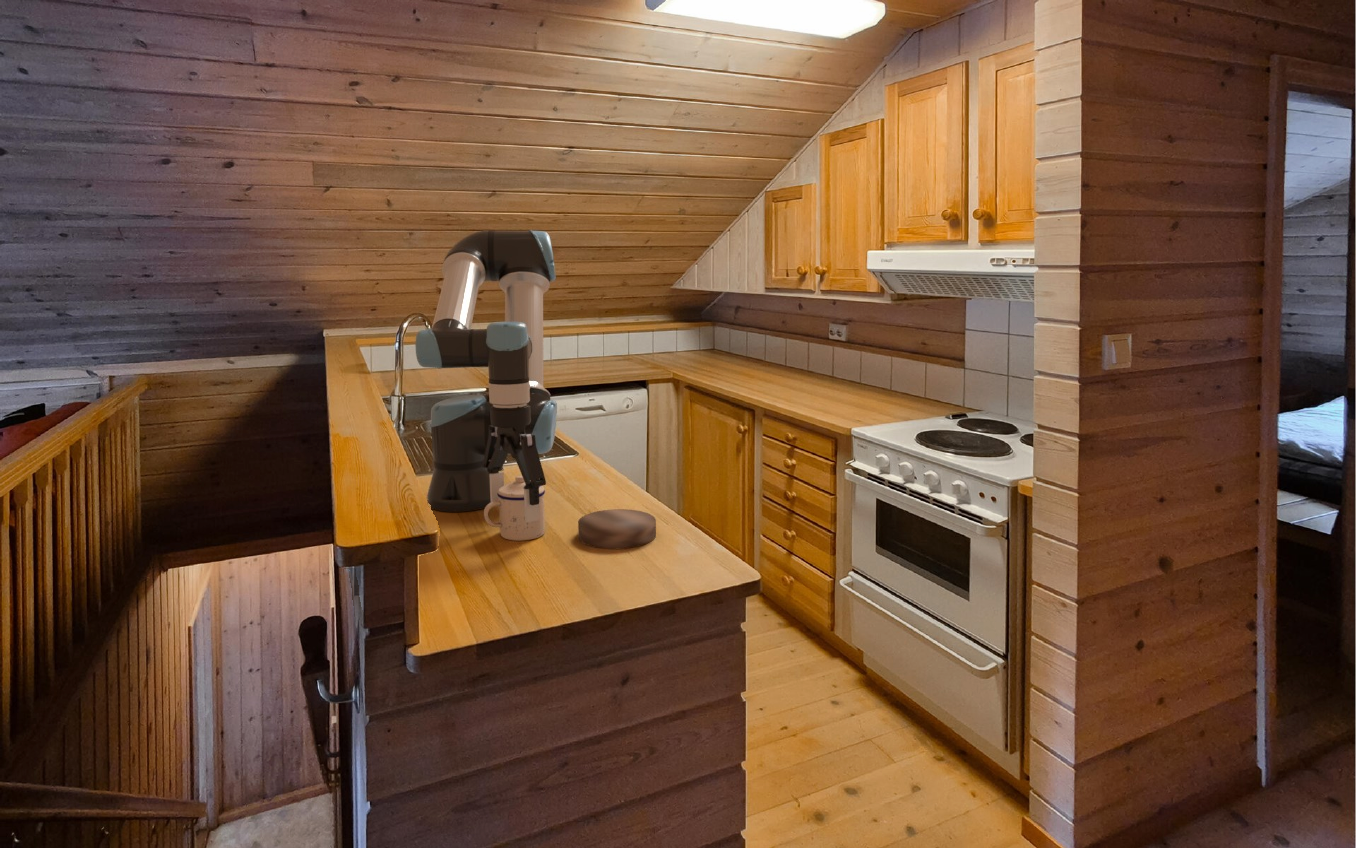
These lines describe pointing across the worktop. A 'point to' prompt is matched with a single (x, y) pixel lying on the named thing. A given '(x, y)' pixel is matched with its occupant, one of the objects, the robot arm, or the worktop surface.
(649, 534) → the walnut stand
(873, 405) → the worktop surface
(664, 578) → the worktop surface
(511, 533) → the teacup with lid
